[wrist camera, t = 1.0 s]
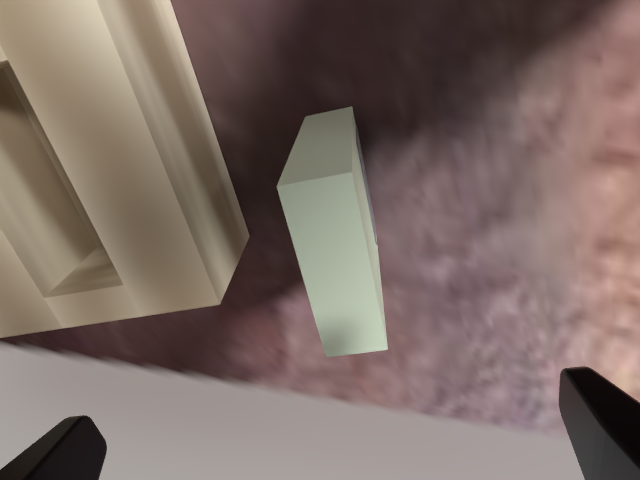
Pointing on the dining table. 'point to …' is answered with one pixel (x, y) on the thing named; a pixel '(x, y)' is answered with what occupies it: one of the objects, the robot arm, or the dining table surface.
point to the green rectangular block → (335, 233)
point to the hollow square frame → (107, 169)
